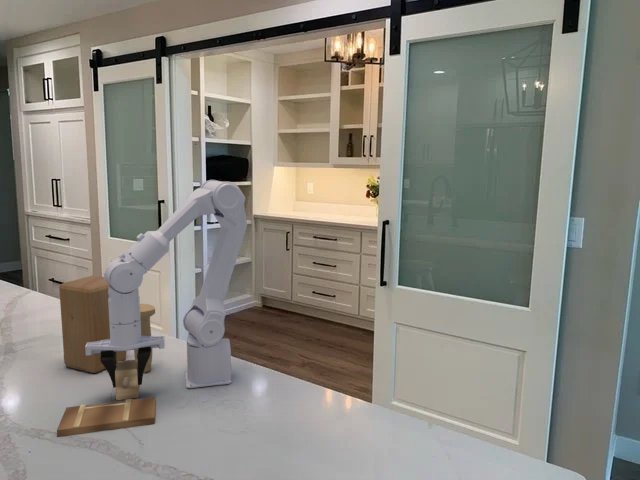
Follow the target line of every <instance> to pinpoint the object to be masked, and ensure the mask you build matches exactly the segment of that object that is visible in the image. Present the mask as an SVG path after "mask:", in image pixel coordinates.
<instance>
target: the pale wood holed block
mask: <svg viewBox="0 0 640 480" xmlns="http://www.w3.org/2000/svg"><path fill="white" fill-rule="evenodd" d="M116 365H117V366H116V370H115V381H116V388H115V396H116V397H115V399H116V400H115V401H123V400H126V399H131V400H132V399H139V394H140V386H141V385H138V360H137V359H136V360H135V359H130V360H129V359H128V360H125V359H124V360H122V361H118V362H117V363H116Z"/></svg>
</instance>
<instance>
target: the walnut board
mask: <svg viewBox="0 0 640 480" xmlns="http://www.w3.org/2000/svg"><path fill="white" fill-rule="evenodd" d="M156 397H157V396H150V397H142V398H141V397H140V398H131V399H124V400H115V401H109V402H108V401H107V402H101V403H93V404H87V403H85V404H83V403H82V404H80V405H75V406H67V407H66V408H65V410H64V412H63V415H62V416H61V419H60V422H59V424H58V427H57V429H56V437H63V436H65V437H66V436H70V435H71V436H72V435H79V434H85V433H86V434H88V433H94V432H101V431H109V430H116V429H123V428H124V429H125V428H130V427H132V428H133V427H139V426H147V425H154V424H155V423H156V420H155V419H156V409H157V408H156V406H157V398H156Z"/></svg>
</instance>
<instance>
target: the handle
mask: <svg viewBox="0 0 640 480" xmlns="http://www.w3.org/2000/svg"><path fill="white" fill-rule="evenodd" d="M155 314H156V307H155V306H154V305H152V304H149V303H148V304H147V303H140V320H141V336H152V327H151V317H153V316H154V315H155ZM133 352H134V360H136V359H137V353H138V350H133ZM152 362H153V348H151V355H150V357H149V360H148V362H147V364H146V367H145V369H144V373H145V374H146V373H148V372H150V371H151V370H152ZM144 373H143V374H144Z"/></svg>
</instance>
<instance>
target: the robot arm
mask: <svg viewBox="0 0 640 480" xmlns="http://www.w3.org/2000/svg"><path fill="white" fill-rule="evenodd" d="M245 202H246V196H245V195H244V193H243V191H242V190H241V188H240V187H239V186H238V185H237V184H236V183H235V182H231V181H220V180H216V179H209V180H206V181H205V182H203V183H202V184H201V185H200V187H198V188H196V189H195V190H193V192H191V194H190V195H189V196H188V198H186V199H185V201H183V202H182V203H181V205H180V206H179V207H178V208H176V210H175V211H174V212H173V213H172V214H171V215H170V216H169V217H168V219H166V220H165V221H164V223H163V224H162V225H161V226H159V228H158V229H157V230H148V231H146V232H145V233H144V234H143V233H139V234H138V235H137V236H136V237H135V238H136V239H137V240H136V242H134V243H133V244H132V245H131V246H130V247H129V248H128V249H127V250H126V251H125V252H122V251H121V253H119V254H118V257H119V258H117V259H114V260H112V261H111V262H109V264H107V266H106V268H105V271H104V273H103V277H104V278H105V280H106V281H107V283H108V284H110V285H109V286H108V289H109V290H108V294H109V298H108V306H109V325H110V339H106V340H101V341H96V342H88V343H87V344H86V346H85V350H86V355H92V354H94V353H101V357H100V361H101V363H102V364H103V365H104V367H105V370H106V372H107V373H108V375H109V377H110V380H111V384H112V386H113V387H112V388H114V389H116V381H115V370H116V366H117V363H116V351H126V352H127V351H134V350H138V353H137V360H138V385H140V386H142V384H143V376H144V369H145V367H146V364H147V362H148V360H149V357H150V355H151V348H152V349H159V350H160V349H161V350H162V349H165V346H166V345H165V341H166V340H165V336H163V335H162V336H160V335H159V336H155V335H154V336H153V335H151V336H141V320H140V304H141V303H140V301H141V299H140V295H139V291H140V290H139V288H140V287H141V284H143V283H142V282H143V280H144V279H143V278H144V275H145V274H147V273H148V272H149V271H150V270H151V269H152V268H153V267H154V266H155V265H156V264H157V263H158V262H159V261H160V260H161V259H163V257H164V256H165V255H166V254H167V253H169V250H170V242H171V241H172V240H173V239H174V238H176V237H177V236H178V235H180V233H181V232H182V231H184V230H185V228H187V227H188V226H189V225H190V224H191V223H193V222H194V221H195V220H197V218H198V217H200V216H206V215H213V216H214V217H215V219H216V221H217V222H218V224H219V226H220V228H219V233H218V235H217V239H216V240H215V241H216V242H215V245H214V246H213V251H212V254H211V256H210V257H211V258H210V261H209V263H208V266H207V270H206V273H205V277H204V280H203V283H202V286H201V289H200V293H199V294H198V295H197V296H196V297H195V298H194V299H193V301H192V303H191V306H190V307H189V308H188V310H187V311H186V312H185V314H184V316H183V318H182V326H183V327H184V329H185V330H186V331H187V332H188V334H187V338H186V354H187V355H186V364H187V365H186V366H187V367H186V368H187V370H186V371H185V373H184V374H185V376H184V377H185V387H186V389H193V388H195V389H196V388H202V387H204V388H205V387H211V386H220V385H229V384H231V383H232V351H231V343H230V339H229V338H223V337H224V334H225V331H226V330H225V329H226V328H225V318H226V314H227V313H226V309H225V304H224V301H225V298H226V294H227V293H228V288H229V285H230V281H231V278H232V274H233V273H234V269H235V265H236V262H237V259H238V255H239V253H240V250H241V246H242V243H243V241H244V237H245V234H246V230H247V228H248V219H247V214H246V207H245Z"/></svg>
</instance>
